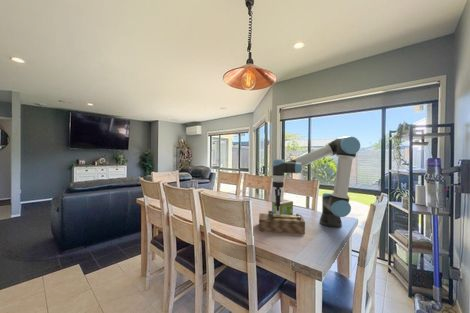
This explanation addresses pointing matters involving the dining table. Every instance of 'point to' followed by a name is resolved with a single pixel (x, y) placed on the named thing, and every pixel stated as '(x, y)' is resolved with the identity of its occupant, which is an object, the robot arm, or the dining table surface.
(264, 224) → the walnut chest
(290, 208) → the tea box
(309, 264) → the dining table surface
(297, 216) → the latch bar
